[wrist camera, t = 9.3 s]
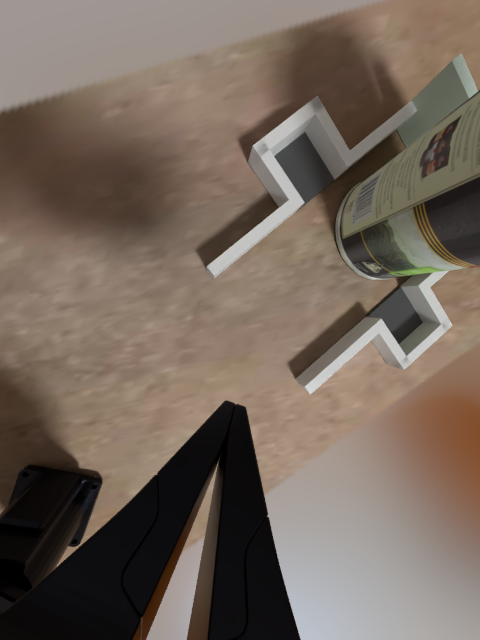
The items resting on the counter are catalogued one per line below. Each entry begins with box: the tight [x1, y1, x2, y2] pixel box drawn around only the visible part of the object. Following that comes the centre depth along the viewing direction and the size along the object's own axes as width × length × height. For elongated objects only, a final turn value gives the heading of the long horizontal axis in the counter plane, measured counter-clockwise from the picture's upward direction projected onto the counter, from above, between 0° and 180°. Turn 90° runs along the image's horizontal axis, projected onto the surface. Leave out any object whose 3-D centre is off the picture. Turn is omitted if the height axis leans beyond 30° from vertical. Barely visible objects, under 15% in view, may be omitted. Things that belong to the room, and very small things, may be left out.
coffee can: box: [335, 90, 480, 280], centre depth 14 cm, size 10×10×14 cm
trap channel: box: [207, 53, 478, 394], centre depth 18 cm, size 24×25×5 cm
